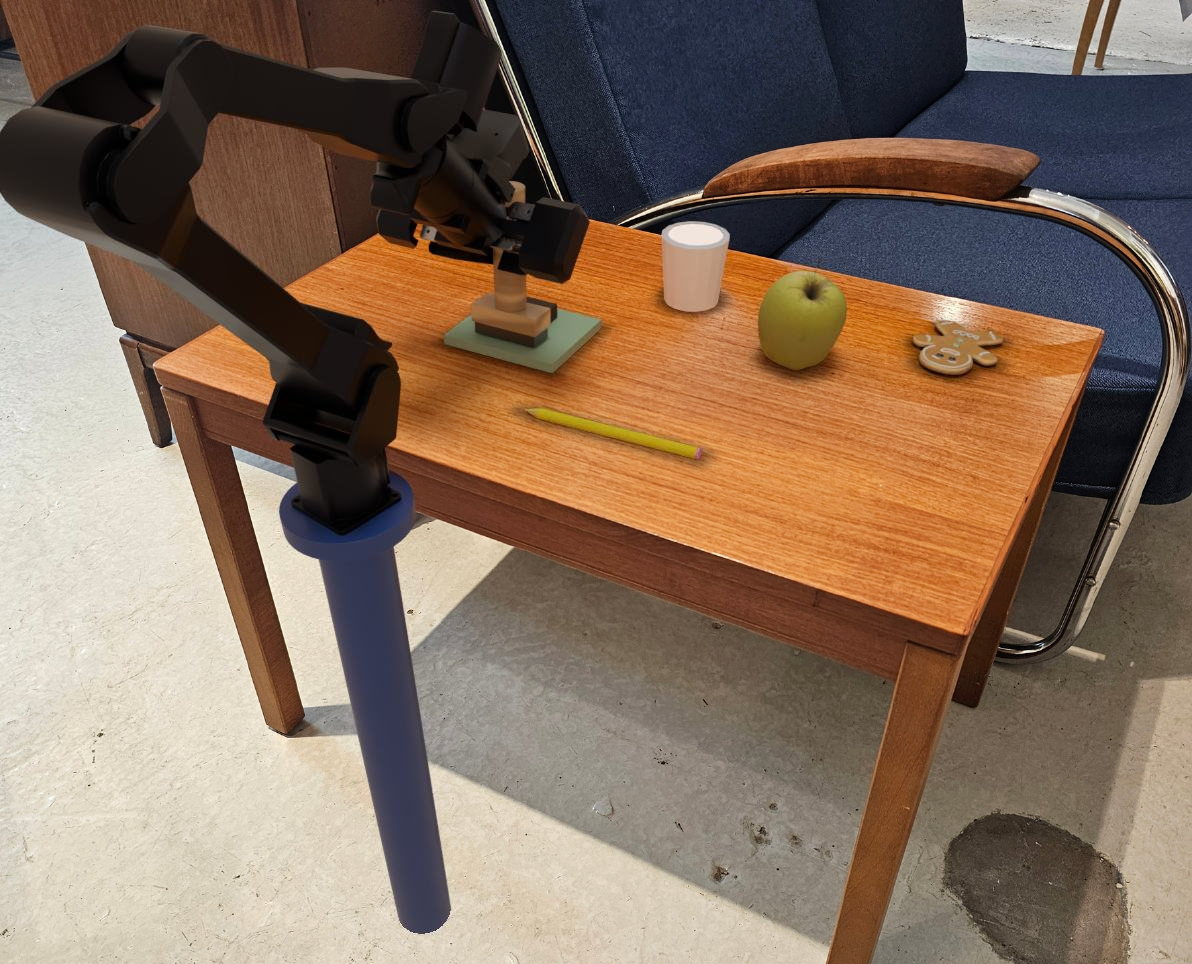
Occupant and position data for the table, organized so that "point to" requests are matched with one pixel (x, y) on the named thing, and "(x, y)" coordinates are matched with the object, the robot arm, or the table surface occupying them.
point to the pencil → (616, 433)
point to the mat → (547, 356)
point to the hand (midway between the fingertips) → (517, 263)
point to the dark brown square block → (545, 304)
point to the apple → (801, 319)
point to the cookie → (956, 348)
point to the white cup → (693, 264)
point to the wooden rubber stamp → (510, 303)
